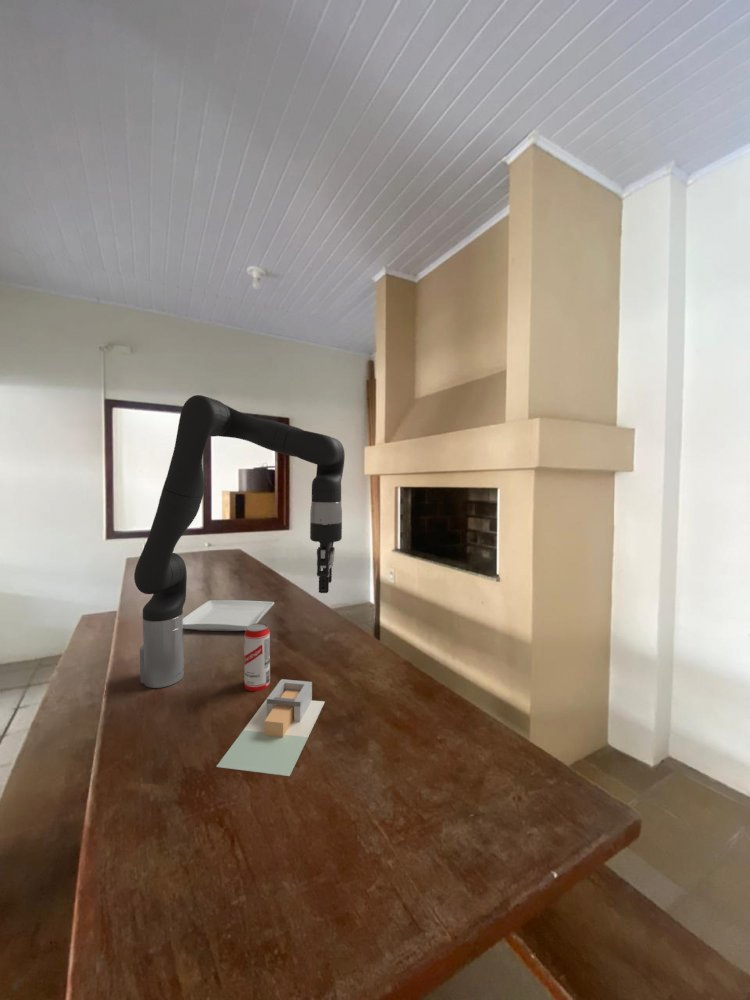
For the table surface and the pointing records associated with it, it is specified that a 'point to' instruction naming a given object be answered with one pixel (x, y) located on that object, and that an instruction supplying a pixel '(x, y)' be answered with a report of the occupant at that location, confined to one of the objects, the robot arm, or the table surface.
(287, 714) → the tan wooden plank
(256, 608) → the square plate
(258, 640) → the beer can
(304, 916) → the table surface
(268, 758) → the two-tone mat
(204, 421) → the robot arm
